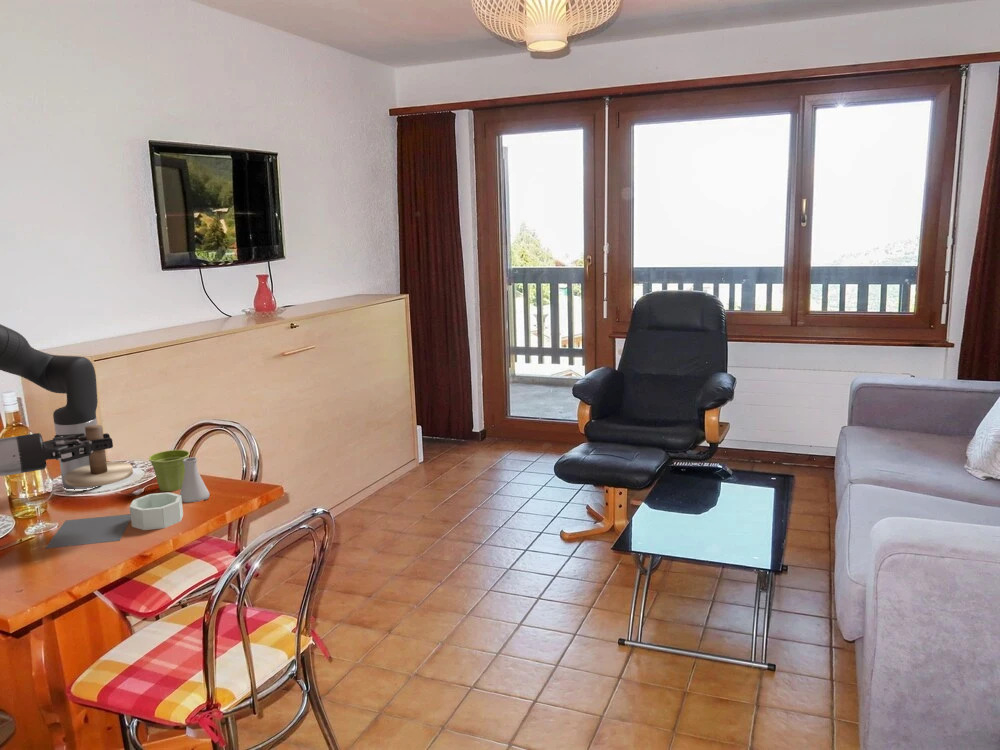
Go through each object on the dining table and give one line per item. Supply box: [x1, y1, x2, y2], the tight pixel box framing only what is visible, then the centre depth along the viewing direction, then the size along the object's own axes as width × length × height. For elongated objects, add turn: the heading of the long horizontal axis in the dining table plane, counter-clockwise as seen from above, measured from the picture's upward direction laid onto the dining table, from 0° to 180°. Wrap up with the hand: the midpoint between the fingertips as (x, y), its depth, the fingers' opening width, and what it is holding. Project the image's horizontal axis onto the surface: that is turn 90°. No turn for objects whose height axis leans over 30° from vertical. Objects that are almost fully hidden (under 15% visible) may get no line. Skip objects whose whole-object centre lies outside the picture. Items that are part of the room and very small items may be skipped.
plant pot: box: [148, 449, 191, 492], centre depth 193 cm, size 9×9×9 cm
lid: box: [65, 424, 134, 487], centre depth 165 cm, size 13×13×11 cm
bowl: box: [129, 491, 184, 531], centre depth 173 cm, size 10×10×5 cm
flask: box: [179, 456, 211, 503], centre depth 186 cm, size 7×7×10 cm
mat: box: [45, 513, 131, 549], centre depth 168 cm, size 15×14×1 cm
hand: (110, 440), depth 166 cm, fingers closed on lid, 3 cm apart
